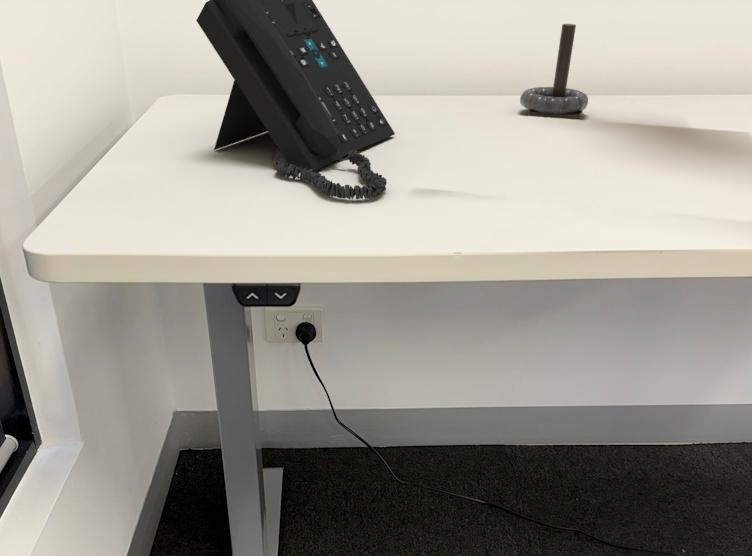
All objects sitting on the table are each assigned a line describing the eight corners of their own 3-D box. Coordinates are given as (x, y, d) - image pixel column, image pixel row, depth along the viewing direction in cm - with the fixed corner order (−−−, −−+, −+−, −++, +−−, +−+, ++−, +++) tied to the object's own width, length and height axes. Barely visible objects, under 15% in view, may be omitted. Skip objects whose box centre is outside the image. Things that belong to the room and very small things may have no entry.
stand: (582, 111, 122) (597, 22, 115) (580, 122, 116) (595, 29, 109) (532, 108, 124) (544, 20, 117) (527, 118, 118) (539, 26, 111)
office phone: (364, 207, 81) (368, -5, 70) (163, 168, 93) (139, -19, 82) (468, 147, 102) (484, -22, 91) (294, 122, 114) (289, -31, 103)
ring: (587, 103, 123) (590, 88, 121) (585, 117, 114) (588, 100, 113) (523, 99, 125) (525, 84, 124) (516, 112, 117) (518, 96, 115)
